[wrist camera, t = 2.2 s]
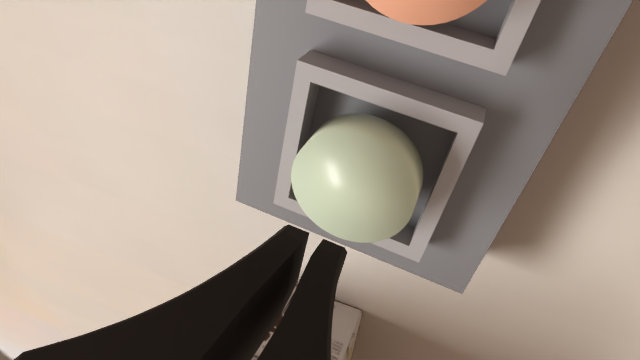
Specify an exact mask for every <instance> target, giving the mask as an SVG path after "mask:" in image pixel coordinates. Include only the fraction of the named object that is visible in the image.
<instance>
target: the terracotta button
mask: <svg viewBox="0 0 640 360" xmlns="http://www.w3.org/2000/svg"><path fill="white" fill-rule="evenodd" d="M366 1H367V2H368V3H369V4H370V5H371V6H372V7H373V8H375V9H376V10H377V11H379V12H380V13H382V14H384V15H385V16H387V17H389V18H391V19H394V20H397V21H399V22H403V23H407V24H413V25H435V24H441V23H446V22H449V21H452V20H455V19H458V18H460V17H462V16H464V15H467V14H468V13H470V12H471V11H473V10H475V9H476V8H478V7H479V6H480V5H482V4H483V3H484V2H486V1H487V0H366Z"/></svg>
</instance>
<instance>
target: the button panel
mask: <svg viewBox="0 0 640 360" xmlns="http://www.w3.org/2000/svg"><path fill="white" fill-rule="evenodd" d="M632 1H633V0H487V1H486V2H484V3H483V4H482V5H480V6H479V7H478V8H476V9H475V10H473V11H471V12H470V13H468V14H467V15H464V16H462V17H460V18H458V19H455V20H452V21H449V22H446V23H441V24H435V25H413V24H407V23H403V22H399V21H397V20H394V19H391V18H389V17H387V16H385V15H384V14H382V13H380V12H379V11H377V10H376V9H375V8H373V7H372V6H371V5H370V4H369V3H368V2H367V1H366V0H256V9H255V19H254V29H253V38H252V48H251V58H250V68H249V77H248V87H247V97H246V107H245V117H244V126H243V136H242V146H241V156H240V165H239V175H238V185H237V195H236V201H239V202H241V203H243V204H246V205H248V206H251V207H253V208H256V209H258V210H260V211H263V212H265V213H268V214H270V215H272V216H275V217H277V218H280V219H282V220H285V221H287V222H289V223H292V224H294V225H297V226H299V227H302V228H304V229H306V230H309V231H311V232H314V233H316V234H318V235H321V236H323V237H326V238H328V239H331V240H333V241H335V242H338V243H340V244H343V245H345V246H348V247H350V248H352V249H355V250H357V251H360V252H362V253H364V254H367V255H369V256H372V257H374V258H377V259H379V260H381V261H384V262H386V263H389V264H391V265H394V266H396V267H398V268H401V269H403V270H406V271H408V272H410V273H413V274H415V275H418V276H420V277H423V278H425V279H427V280H430V281H432V282H435V283H437V284H440V285H442V286H444V287H447V288H449V289H452V290H454V291H456V292H459V293H461V294H462V293H463V292H464V290H465V288H466V287H467V285H468V283H469V281H470V280H471V278H472V276H473V274H474V273H475V271H476V269H477V268H478V266H479V264H480V262H481V261H482V259H483V257H484V256H485V254H486V252H487V250H488V249H489V247H490V245H491V244H492V242H493V240H494V238H495V237H496V235H497V233H498V231H499V230H500V228H501V226H502V225H503V223H504V221H505V219H506V218H507V216H508V214H509V213H510V211H511V209H512V207H513V206H514V204H515V202H516V201H517V199H518V197H519V195H520V194H521V192H522V190H523V189H524V187H525V185H526V183H527V182H528V180H529V178H530V176H531V175H532V173H533V171H534V170H535V168H536V166H537V164H538V163H539V161H540V159H541V158H542V156H543V154H544V152H545V151H546V149H547V147H548V146H549V144H550V142H551V140H552V139H553V137H554V135H555V134H556V132H557V130H558V128H559V127H560V125H561V123H562V121H563V120H564V118H565V116H566V115H567V113H568V111H569V109H570V108H571V106H572V104H573V103H574V101H575V99H576V97H577V96H578V94H579V92H580V91H581V89H582V87H583V85H584V84H585V82H586V80H587V79H588V77H589V75H590V73H591V72H592V70H593V68H594V66H595V65H596V63H597V61H598V60H599V58H600V56H601V54H602V53H603V51H604V49H605V48H606V46H607V44H608V42H609V41H610V39H611V37H612V36H613V34H614V32H615V30H616V29H617V27H618V25H619V23H620V22H621V20H622V18H623V17H624V15H625V13H626V11H627V10H628V8H629V6H630V5H631V3H632ZM353 113H359V114H368V115H373V116H376V117H379V118H382V119H384V120H386V121H388V122H390V123H392V124H393V125H395V126H396V127H398V128H399V129H400V130H402V131H403V132H404V133H405V134H406V135H407V136H408V137H409V139H410V140H411V141H412V142H413V144H414V145H415V147H416V148H417V150H418V153H419V155H420V157H421V161H422V164H423V184H422V188H421V191H420V194H419V197H418V199H417V202H416V205H415V208H414V211H413V214H412V216H411V218H410V220H409V222H408V223H407V224H406V226H405V227H404V228H403V229H402V230H401V231H400V232H398V233H397V234H395V235H394V236H392V237H390V238H388V239H385V240H382V241H377V242H370V243H359V242H352V241H348V240H344V239H341V238H338V237H336V236H334V235H332V234H330V233H328V232H326V231H324V230H323V229H321V228H320V227H319V226H317V225H316V224H315V223H314V222H313V221H312V220H311V219H310V218H309V217H308V216H307V215H306V214H305V213H304V211H303V210H302V209H301V207H300V205H299V203H298V202H297V200H296V197H295V195H294V192H293V188H292V183H291V171H292V166H293V162H294V160H295V157H296V155H297V154H298V152H299V151H300V149H301V148H302V147H303V146H304V145H305V144H306V142H307V141H308V140H309V139H310V138H311V137H312V135H313V134H314V133H315V132H316V131H317V130H318V129H319V128H320V126H322V125H323V124H324V123H325V122H327V121H329V120H330V119H332V118H335V117H337V116H340V115H345V114H353Z"/></svg>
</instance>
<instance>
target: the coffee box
mask: <svg viewBox="0 0 640 360" xmlns="http://www.w3.org/2000/svg"><path fill="white" fill-rule="evenodd" d="M296 288H297V286H295V288H294V290H293V292H292V294H291V296H290V298H289V300H288V302H287V304H286V306H285V308H284V310H283V312H282V314H281V315H280V317H279V318H278V320H277V321H276V323H275V324H274V326H273V327H272V329H271V331H270V332H269V334H268V335H267V337H266V338H265V340H264V341H263V343H262V344H261V346H260V347H259V349H258V350H257V352H256V353H255V355H254V356H253V358H252V359H251V360H257V358H258V357H259V355H260V354H261V352H262V351H263V349H264V348H265V346H266V344H267V343H268V341H269V340H270V338H271V336H272V335H273V333H274V332H275V330H276V329H277V327H278V325H279V323H280V321H281V319H282V317H283V316H284V314H285V312H286V309H287V307H288V305H289V303H290V301H291V299H292V296H293V294H294V292H295V290H296ZM361 316H362V312H361V311H360V310H358V309H356V308H353V307H350V306H348V305H345V304H342V303H340V302H337V301H334V309H333V319H332V335H331V360H351V357H352V353H353V349H354V345H355V341H356V337H357V333H358V328H359V324H360V320H361Z"/></svg>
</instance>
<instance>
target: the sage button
mask: <svg viewBox="0 0 640 360" xmlns="http://www.w3.org/2000/svg"><path fill="white" fill-rule="evenodd" d="M291 183H292V188H293V192H294V195H295V197H296V200H297V202H298V203H299V205H300V207H301V209H302V210H303V211H304V213H305V214H306V215H307V216H308V217H309V218H310V219H311V220H312V221H313V222H314V223H315V224H316V225H317V226H319V227H320V228H321V229H323V230H324V231H326V232H328V233H330V234H332V235H334V236H336V237H338V238H341V239H344V240H348V241H352V242H359V243H370V242H377V241H382V240H385V239H388V238H390V237H392V236H394V235H395V234H397V233H398V232H400V231H401V230H402V229H403V228H404V227H405V226H406V224H407V223H408V222H409V220H410V218H411V216H412V214H413V211H414V208H415V205H416V202H417V199H418V197H419V194H420V191H421V188H422V184H423V164H422V161H421V157H420V155H419V153H418V150H417V148H416V147H415V145H414V144H413V142H412V141H411V140H410V139H409V137H408V136H407V135H406V134H405V133H404V132H403V131H402V130H400V129H399V128H398V127H396V126H395V125H393V124H392V123H390V122H388V121H386V120H384V119H382V118H379V117H376V116H373V115H368V114H359V113H353V114H345V115H340V116H337V117H335V118H332V119H330V120H329V121H327V122H325V123H324V124H323V125H322V126H320V128H319V129H318V130H317V131H316V132H315V133H314V134H313V135H312V137H311V138H310V139H309V140H308V141H307V142H306V144H305V145H304V146H303V147H302V148H301V149H300V151H299V152H298V154H297V155H296V157H295V160H294V162H293V166H292V171H291Z"/></svg>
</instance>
